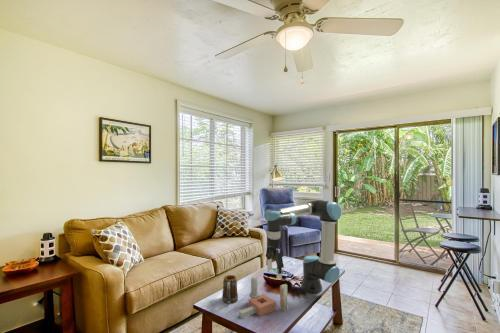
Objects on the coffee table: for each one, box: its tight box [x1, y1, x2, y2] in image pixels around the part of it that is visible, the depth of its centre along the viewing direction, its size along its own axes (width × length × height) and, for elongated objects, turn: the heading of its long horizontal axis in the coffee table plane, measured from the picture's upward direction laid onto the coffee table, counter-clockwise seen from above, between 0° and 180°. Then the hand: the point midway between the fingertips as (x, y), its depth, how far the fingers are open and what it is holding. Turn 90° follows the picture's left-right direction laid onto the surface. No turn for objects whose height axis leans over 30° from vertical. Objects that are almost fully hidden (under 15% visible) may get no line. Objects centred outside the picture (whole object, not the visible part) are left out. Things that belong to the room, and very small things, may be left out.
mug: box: [221, 274, 239, 305], centre depth 169 cm, size 16×11×15 cm
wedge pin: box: [279, 283, 288, 313], centre depth 159 cm, size 4×3×15 cm
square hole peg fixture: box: [238, 276, 277, 319], centre depth 160 cm, size 22×17×16 cm
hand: (274, 274), depth 150 cm, fingers open, 13 cm apart
